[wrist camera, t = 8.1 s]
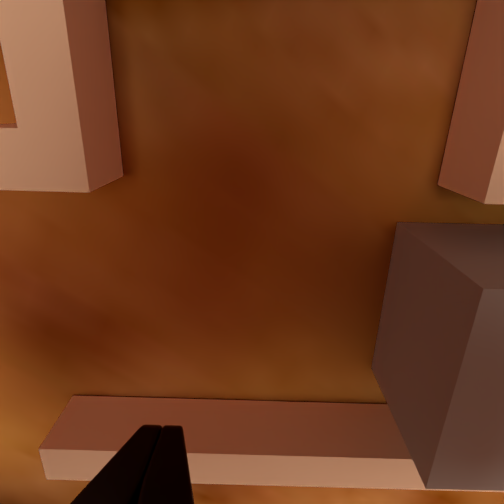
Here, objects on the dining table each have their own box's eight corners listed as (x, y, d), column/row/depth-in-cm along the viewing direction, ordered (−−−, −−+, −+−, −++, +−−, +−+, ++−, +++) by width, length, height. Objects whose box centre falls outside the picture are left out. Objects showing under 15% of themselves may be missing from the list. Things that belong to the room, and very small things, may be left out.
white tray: (583, 437, 15) (672, 525, 12) (78, 423, 15) (29, 507, 12) (841, -87, 9) (1180, -203, 6) (-28, -113, 9) (-194, -246, 6)
